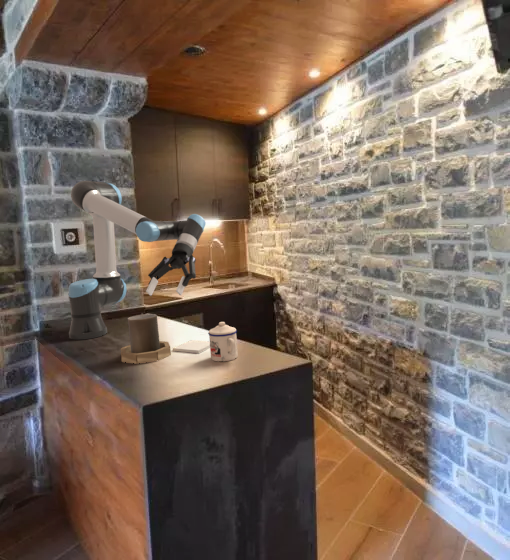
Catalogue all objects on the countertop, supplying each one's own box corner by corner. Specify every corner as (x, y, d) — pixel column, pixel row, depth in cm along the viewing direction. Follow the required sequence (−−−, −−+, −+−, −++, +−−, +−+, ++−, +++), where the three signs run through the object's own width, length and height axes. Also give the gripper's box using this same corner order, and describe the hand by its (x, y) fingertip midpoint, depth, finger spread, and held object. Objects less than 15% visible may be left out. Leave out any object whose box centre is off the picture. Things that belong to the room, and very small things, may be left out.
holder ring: (111, 360, 144) (110, 352, 144) (144, 347, 158) (143, 339, 158) (148, 365, 137) (147, 356, 136) (179, 351, 151) (178, 342, 150)
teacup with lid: (205, 357, 141) (202, 322, 140) (230, 351, 146) (227, 318, 144) (222, 366, 131) (219, 328, 129) (248, 360, 136) (245, 323, 134)
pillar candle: (162, 357, 144) (158, 313, 143) (132, 362, 141) (128, 316, 140) (158, 350, 154) (154, 309, 152) (130, 354, 150) (126, 312, 149)
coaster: (172, 350, 151) (172, 348, 151) (191, 342, 161) (191, 340, 161) (198, 353, 146) (198, 350, 146) (216, 344, 156) (216, 341, 156)
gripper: (216, 252, 163) (197, 299, 151) (164, 256, 175) (142, 299, 163) (207, 239, 158) (186, 286, 146) (153, 243, 169) (131, 287, 158)
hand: (163, 293), depth 155 cm, fingers open, 13 cm apart
